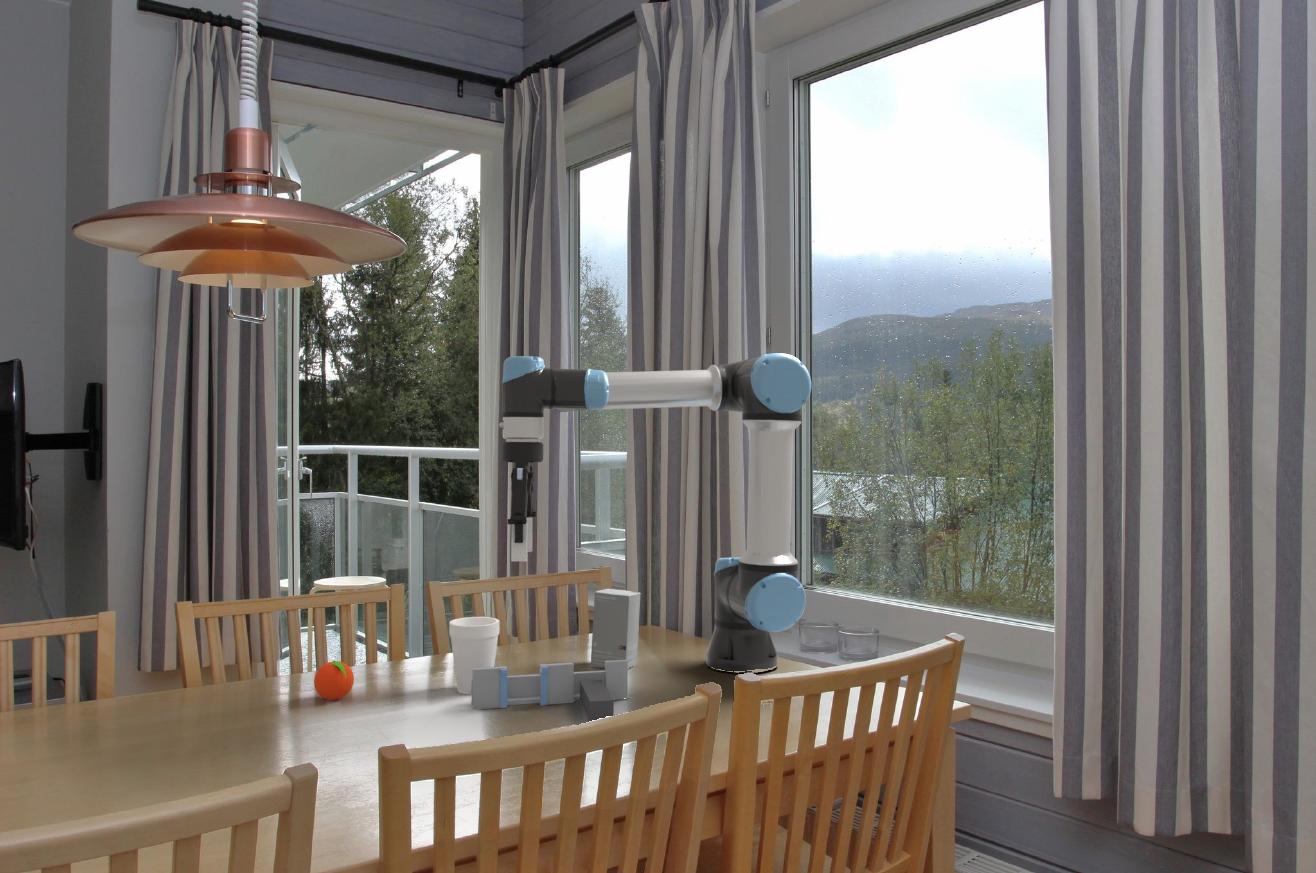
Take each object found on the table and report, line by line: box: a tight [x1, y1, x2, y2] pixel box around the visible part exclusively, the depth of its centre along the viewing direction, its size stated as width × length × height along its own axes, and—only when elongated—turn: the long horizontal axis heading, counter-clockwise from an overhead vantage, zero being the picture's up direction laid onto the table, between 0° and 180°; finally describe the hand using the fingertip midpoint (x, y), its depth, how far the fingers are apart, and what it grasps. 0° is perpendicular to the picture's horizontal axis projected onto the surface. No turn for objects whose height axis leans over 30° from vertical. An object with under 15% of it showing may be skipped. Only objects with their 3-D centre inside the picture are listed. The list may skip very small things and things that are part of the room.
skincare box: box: [590, 588, 642, 670], centre depth 198 cm, size 8×7×16 cm
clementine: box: [313, 660, 355, 701], centre depth 172 cm, size 8×7×7 cm
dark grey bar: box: [579, 680, 615, 722], centre depth 165 cm, size 4×14×4 cm, turn 12°
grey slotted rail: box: [470, 660, 629, 710], centre depth 171 cm, size 28×5×7 cm, turn 104°
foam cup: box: [448, 616, 501, 695], centre depth 179 cm, size 10×9×13 cm
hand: (522, 556), depth 173 cm, fingers open, 13 cm apart
